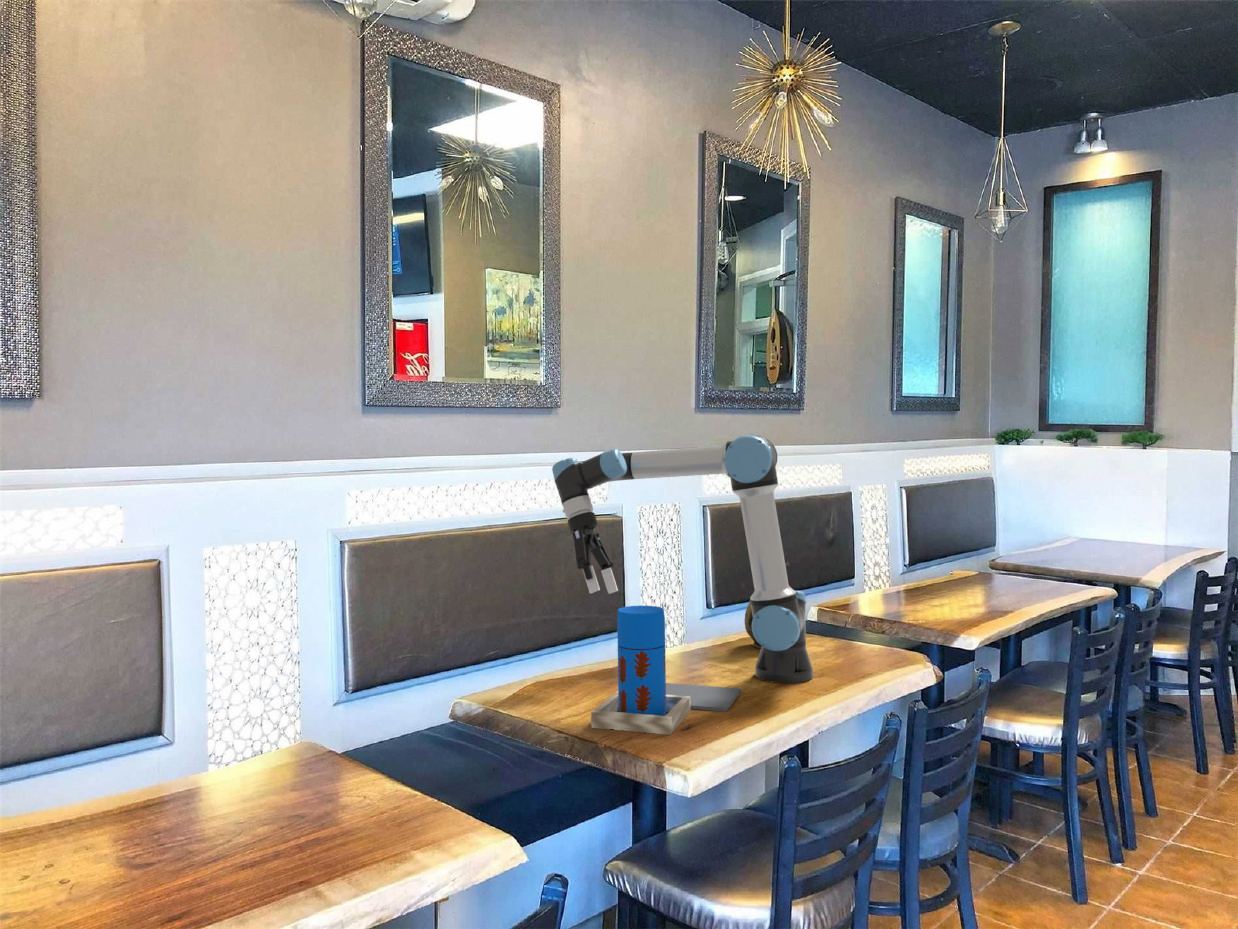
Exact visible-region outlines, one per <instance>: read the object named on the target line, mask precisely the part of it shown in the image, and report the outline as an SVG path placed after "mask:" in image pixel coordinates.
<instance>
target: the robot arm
mask: <svg viewBox="0 0 1238 929" xmlns="http://www.w3.org/2000/svg"><path fill="white" fill-rule="evenodd" d="M777 463H778V452H777V448H776V447H775V444H774V443H773V442H772V441H771V440H770V439H768V438H767V437H765V436H761V435H756V434H745V435H741V436H739V437H737V438H735V439H734V440H731V441H725V442H724V444H723V445H713V446H698V447H687V448H686V447H685V448H674V449H672V448H671V449H661V450H660V449H659V450H649V451H648V450H645V451H634V452H621V451H620V450H619V449H617V448H613V449H610V450H607V451H603V452H602V453H600V454H598V455H596V456H592V457H590V458H588V459H586V460H584V461H580V462H579V461H578V459H577V458H575V457H569V458H566V459H561V460H559V461H556V462H555V463H554V464H553V466H552V468H551V471H552V476H553V479H554V484H555V485H556V489H557V492H558V496H559V498H560V500H561V505H562V508H563V509H562V513H564V515H565V517H566V519H568V521H567V525H568V529H569V530H570V533H571V534H572V537H573V541H574V543H573V544H574V551H575V558H576V565H577V569H578V570H582V573H583V576H584V579H585V582H586V586H587V589H588V593H589V594H593V593H596V592H598V591H601V587H600V584H599V582H598V578H597V575H596V572H595V569H594V567H593V566H594V565H591V564H592V562H591V560H592V558H591V557H592V555H593V557H594V558H595V560H596V562H597V564H598V565H599V567H600V568H601V570H600V572H601V575H602V578H603V581H604V585H605V589H606V591H607V594H608V595H610V594H613V593H616V592H619V589H618V586H617V582H616V579H615V576H614V573H613V570H612V569H613V568H614V567H615V564H614V563H613V561H612V559H611V556H610V555H609V553H608V551H607V549H606V547H605V545H604V543H603V541H602V538H601V536H600V533H599V532H596V533H595V531H594V528H595V529H596V527H598V524H599V523H598V520H597V516H596V513H595V512H594V506H593V504H592V501H591V497H590V495H589V492H588V490H590V489H593V488H595V487H598V486H600V485H604V484H606V483H611V482H616V481H627V480H628V481H630V480H632V481H633V480H643V479H662V478H674V477H675V478H676V477H678V478H679V477H690V476H691V477H692V476H707V475H710V476H711V475H721V474H722V475H723V474H724V475H726V476H727V477H728V478H729V479H730V484H731V490H732V492H733V493H734V494H735V495H736V496H737V497H738V498H739V501H740V508H741V514H742V519H743V526H744V532H745V533H744V534H745V539H746V544H747V550H748V551H747V552H748V558H749V562H750V563H749V564H750V570H751V575H752V576H751V577H752V583H753V587H754V588H753V589H754V591H753V593H752V594H751V595H750V598H749V599H750V600H749V602H750V601H751V608H752V614H753V621H752V632H753V635H754V637H755V639H756V641H757V642H758V643H759V644H760V645H761V646H762V647H761V649H760V651H759V653H758V657H757V660H756V664H755V671H754V673H755V675H756V676H755V677H756V678H757V679H759V678H760V680H761V681H764V682H765V681H766V682H770V681H773V683H779V682H781V683H782V684H783V683H785V684H791V683H793V684H794V683H803V682H807V681H810V680H812V679H813V677H814V669H813V665H812V663H811V659H810V656H809V654H808V650H807V642H806V641H807V639H806V636H807V635H806V634H807V632H806V631H807V630H806V626H807V624H806V604H807V600H806V594H805V593H804V592H803V591H802V590H794V589H793V588H792V587H791V586H790V585H789V580H788V578H789V577H788V574H787V573H788V572H787V567H786V566H785V560H784V556H785V553H784V549H783V548H784V547H783V543H782V537H781V530H780V525H779V518H778V512H777V505H776V500H775V495H774V494H775V493H774V492H775V490H776V489H777V488H778V486H779V480H778V475H777V474H778V472H777V468H776V467H777ZM802 681H803V682H802Z"/></svg>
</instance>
